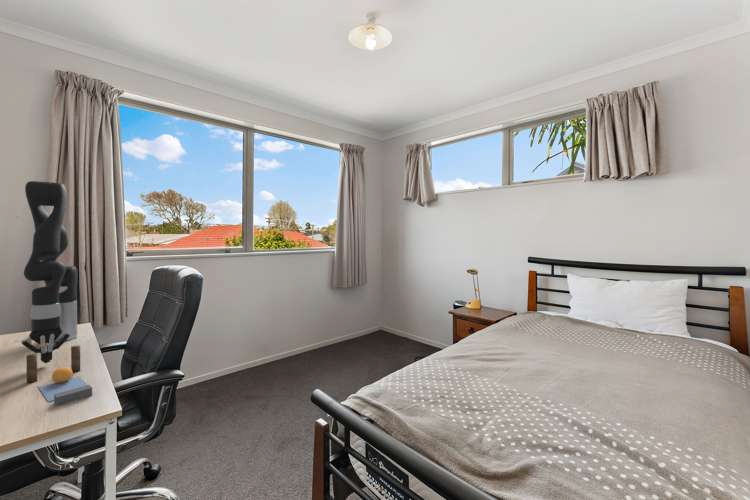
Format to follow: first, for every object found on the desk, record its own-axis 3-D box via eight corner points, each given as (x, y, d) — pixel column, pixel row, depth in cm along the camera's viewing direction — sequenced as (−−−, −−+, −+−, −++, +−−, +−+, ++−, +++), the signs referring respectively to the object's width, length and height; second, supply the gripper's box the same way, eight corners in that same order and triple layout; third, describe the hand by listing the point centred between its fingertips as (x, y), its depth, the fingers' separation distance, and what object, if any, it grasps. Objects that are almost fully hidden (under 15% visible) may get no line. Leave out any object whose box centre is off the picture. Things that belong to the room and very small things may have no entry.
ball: (53, 368, 105) (54, 383, 104) (73, 363, 109) (75, 378, 108) (49, 370, 107) (50, 386, 106) (69, 366, 112) (70, 381, 111)
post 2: (70, 371, 116) (70, 346, 116) (79, 369, 118) (79, 344, 118) (72, 373, 115) (72, 348, 114) (81, 370, 117) (81, 346, 116)
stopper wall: (54, 402, 96) (54, 394, 95) (89, 392, 102) (89, 384, 102) (56, 406, 94) (56, 397, 94) (92, 395, 100) (92, 387, 100)
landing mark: (38, 387, 104) (38, 387, 104) (79, 377, 112) (79, 376, 112) (48, 402, 96) (48, 401, 96) (91, 389, 104) (91, 389, 104)
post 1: (26, 381, 107) (25, 355, 107) (36, 379, 109) (36, 353, 109) (27, 383, 106) (27, 356, 105) (38, 381, 108) (37, 354, 107)
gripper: (67, 310, 126) (68, 354, 127) (17, 317, 115) (18, 364, 116) (73, 314, 122) (73, 359, 123) (21, 321, 111) (21, 370, 112)
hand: (46, 362), depth 119 cm, fingers closed
